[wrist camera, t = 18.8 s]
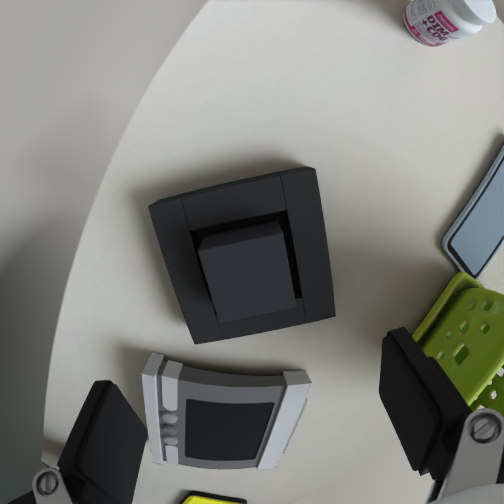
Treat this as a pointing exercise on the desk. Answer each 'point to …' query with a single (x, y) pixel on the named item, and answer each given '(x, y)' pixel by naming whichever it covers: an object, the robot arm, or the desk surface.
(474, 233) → the smartphone
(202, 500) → the game console
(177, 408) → the alarm clock
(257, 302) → the dark grey square block
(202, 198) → the base pad
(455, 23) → the pill bottle
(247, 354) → the desk surface
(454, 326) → the flower pot
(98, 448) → the robot arm
